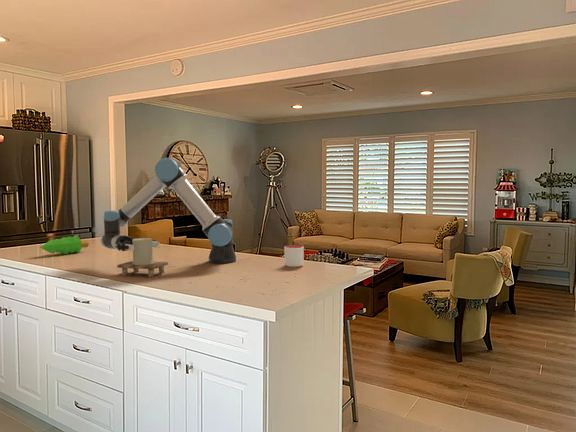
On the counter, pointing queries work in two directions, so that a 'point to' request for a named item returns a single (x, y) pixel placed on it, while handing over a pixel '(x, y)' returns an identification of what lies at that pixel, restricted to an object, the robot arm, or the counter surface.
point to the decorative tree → (65, 245)
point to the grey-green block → (142, 251)
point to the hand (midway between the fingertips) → (146, 246)
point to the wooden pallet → (142, 267)
